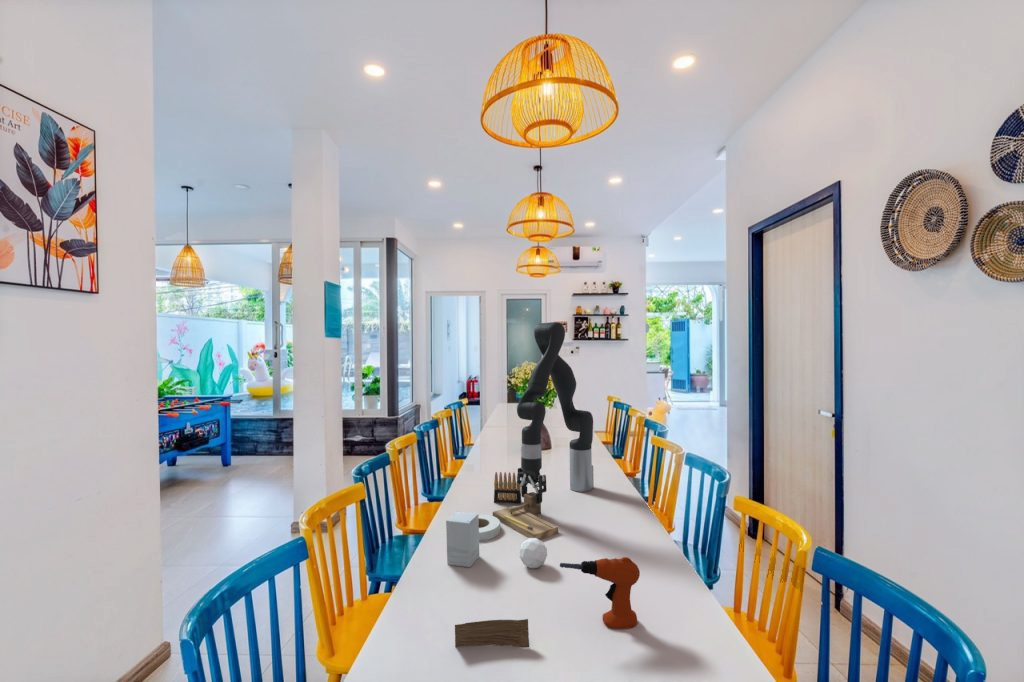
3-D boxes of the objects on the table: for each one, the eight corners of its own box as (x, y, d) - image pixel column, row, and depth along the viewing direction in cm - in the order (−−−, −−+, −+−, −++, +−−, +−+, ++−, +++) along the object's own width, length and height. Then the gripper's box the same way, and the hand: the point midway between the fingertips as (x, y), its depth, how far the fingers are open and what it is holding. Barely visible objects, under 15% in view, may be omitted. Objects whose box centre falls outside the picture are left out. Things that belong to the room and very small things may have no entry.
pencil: (505, 517, 157) (505, 515, 157) (532, 529, 147) (532, 527, 147) (503, 518, 156) (503, 515, 156) (530, 530, 146) (530, 527, 146)
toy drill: (552, 612, 103) (559, 546, 103) (632, 618, 104) (639, 553, 104) (555, 625, 98) (563, 557, 98) (639, 632, 99) (647, 564, 99)
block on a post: (533, 510, 168) (533, 491, 168) (540, 514, 165) (540, 495, 165) (506, 518, 161) (506, 499, 161) (513, 522, 158) (513, 502, 158)
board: (515, 511, 168) (514, 505, 168) (558, 532, 149) (558, 526, 149) (492, 517, 162) (492, 511, 162) (534, 541, 143) (534, 534, 143)
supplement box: (480, 556, 133) (479, 513, 133) (469, 568, 126) (469, 523, 126) (457, 552, 136) (456, 510, 136) (446, 564, 129) (445, 520, 129)
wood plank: (454, 652, 93) (454, 627, 93) (455, 645, 95) (455, 621, 95) (529, 648, 93) (529, 624, 93) (528, 641, 96) (528, 617, 96)
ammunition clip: (521, 502, 177) (521, 471, 177) (520, 503, 175) (520, 472, 175) (494, 501, 179) (494, 470, 179) (493, 502, 177) (493, 472, 177)
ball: (540, 577, 126) (552, 561, 122) (514, 569, 125) (525, 553, 121) (540, 552, 133) (551, 536, 129) (515, 545, 132) (525, 528, 128)
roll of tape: (445, 535, 148) (444, 527, 148) (470, 519, 162) (470, 511, 162) (485, 545, 141) (485, 536, 141) (508, 526, 155) (508, 518, 155)
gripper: (551, 457, 161) (552, 503, 161) (527, 450, 173) (527, 492, 173) (535, 461, 157) (535, 507, 157) (511, 453, 169) (511, 496, 169)
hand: (531, 500), depth 165 cm, fingers open, 8 cm apart
